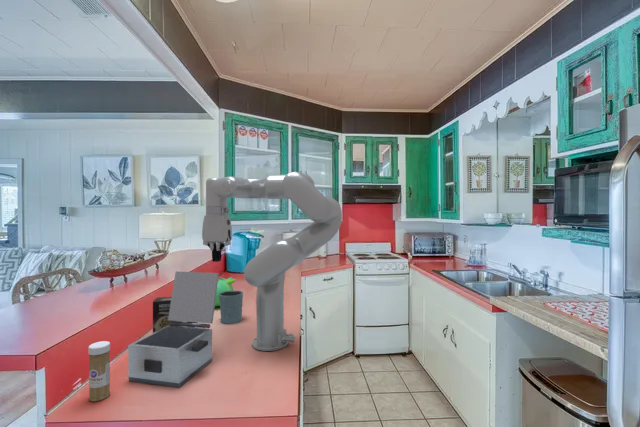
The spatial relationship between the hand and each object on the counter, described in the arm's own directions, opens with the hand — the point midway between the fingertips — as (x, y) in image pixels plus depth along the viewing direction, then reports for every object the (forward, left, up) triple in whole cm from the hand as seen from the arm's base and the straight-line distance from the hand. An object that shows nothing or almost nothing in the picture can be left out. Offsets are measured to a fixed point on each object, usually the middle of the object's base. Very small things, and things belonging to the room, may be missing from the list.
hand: (216, 261), depth 120 cm
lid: (0, +16, -10) cm, 18 cm away
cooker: (0, +25, -29) cm, 38 cm away
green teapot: (+23, -39, -29) cm, 54 cm away
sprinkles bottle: (+9, +41, -29) cm, 51 cm away
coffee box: (+15, +8, -29) cm, 33 cm away
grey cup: (+5, -19, -29) cm, 35 cm away
